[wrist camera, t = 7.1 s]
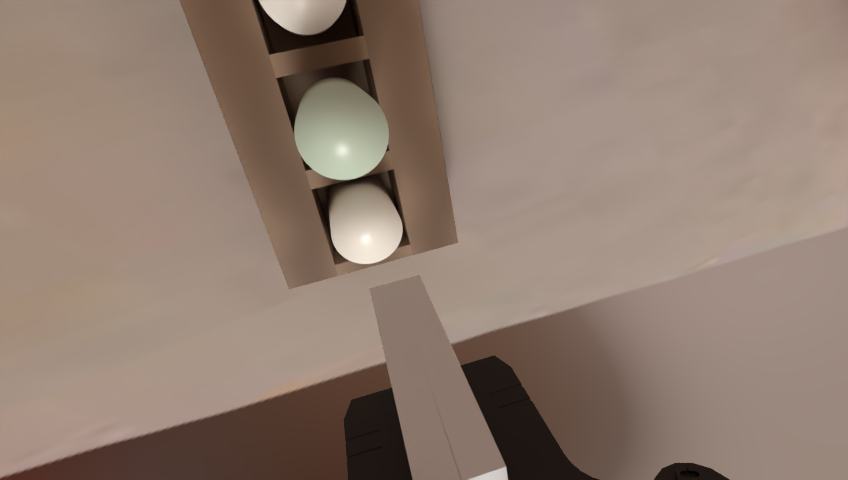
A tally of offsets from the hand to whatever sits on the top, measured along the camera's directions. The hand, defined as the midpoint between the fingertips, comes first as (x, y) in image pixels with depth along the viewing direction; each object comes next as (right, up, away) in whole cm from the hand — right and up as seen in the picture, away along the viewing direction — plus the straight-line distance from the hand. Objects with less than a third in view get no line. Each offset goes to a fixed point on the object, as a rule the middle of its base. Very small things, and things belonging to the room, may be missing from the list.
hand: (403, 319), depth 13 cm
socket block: (-5, +10, +12) cm, 16 cm away
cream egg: (-3, +5, +13) cm, 14 cm away
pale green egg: (-4, +8, +8) cm, 12 cm away
